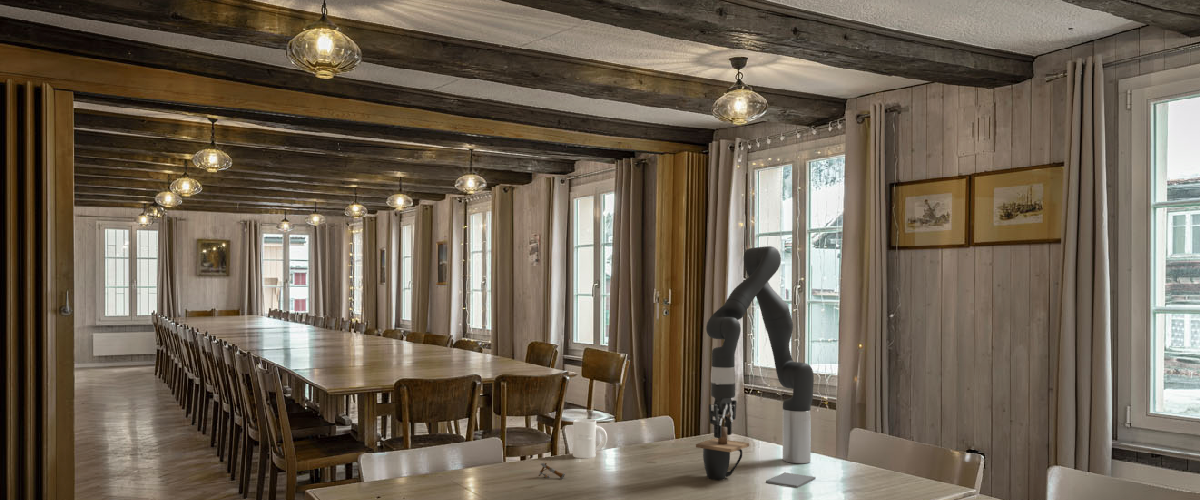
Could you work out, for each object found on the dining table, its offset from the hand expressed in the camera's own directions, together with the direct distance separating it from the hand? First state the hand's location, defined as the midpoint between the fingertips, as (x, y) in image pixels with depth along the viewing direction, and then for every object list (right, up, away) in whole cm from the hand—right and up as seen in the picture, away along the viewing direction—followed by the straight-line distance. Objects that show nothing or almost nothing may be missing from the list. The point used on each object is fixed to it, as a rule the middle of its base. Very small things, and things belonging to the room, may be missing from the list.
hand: (722, 435), depth 252 cm
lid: (0, -3, 0) cm, 3 cm away
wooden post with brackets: (-52, -12, -3) cm, 54 cm away
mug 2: (0, -13, -1) cm, 13 cm away
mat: (+20, -13, -3) cm, 24 cm away
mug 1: (-41, -14, +30) cm, 53 cm away
